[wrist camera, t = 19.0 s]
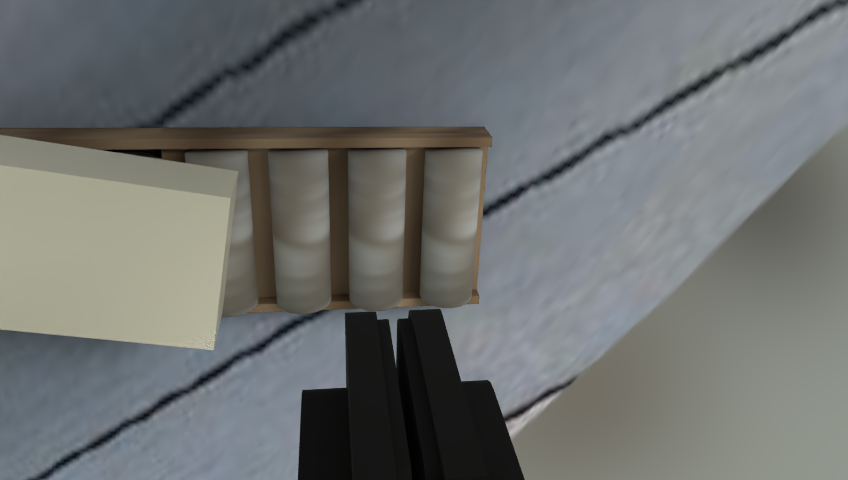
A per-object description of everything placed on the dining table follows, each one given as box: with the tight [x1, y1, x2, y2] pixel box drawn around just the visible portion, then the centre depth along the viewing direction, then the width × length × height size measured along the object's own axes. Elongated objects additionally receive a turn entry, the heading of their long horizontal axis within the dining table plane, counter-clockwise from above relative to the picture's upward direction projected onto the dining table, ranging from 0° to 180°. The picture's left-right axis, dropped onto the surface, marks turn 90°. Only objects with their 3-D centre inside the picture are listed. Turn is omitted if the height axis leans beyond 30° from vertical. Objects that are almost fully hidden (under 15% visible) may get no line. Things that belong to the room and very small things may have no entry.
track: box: [0, 127, 492, 317], centre depth 35 cm, size 28×10×6 cm, turn 88°
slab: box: [0, 135, 239, 350], centre depth 32 cm, size 12×8×4 cm, turn 78°
